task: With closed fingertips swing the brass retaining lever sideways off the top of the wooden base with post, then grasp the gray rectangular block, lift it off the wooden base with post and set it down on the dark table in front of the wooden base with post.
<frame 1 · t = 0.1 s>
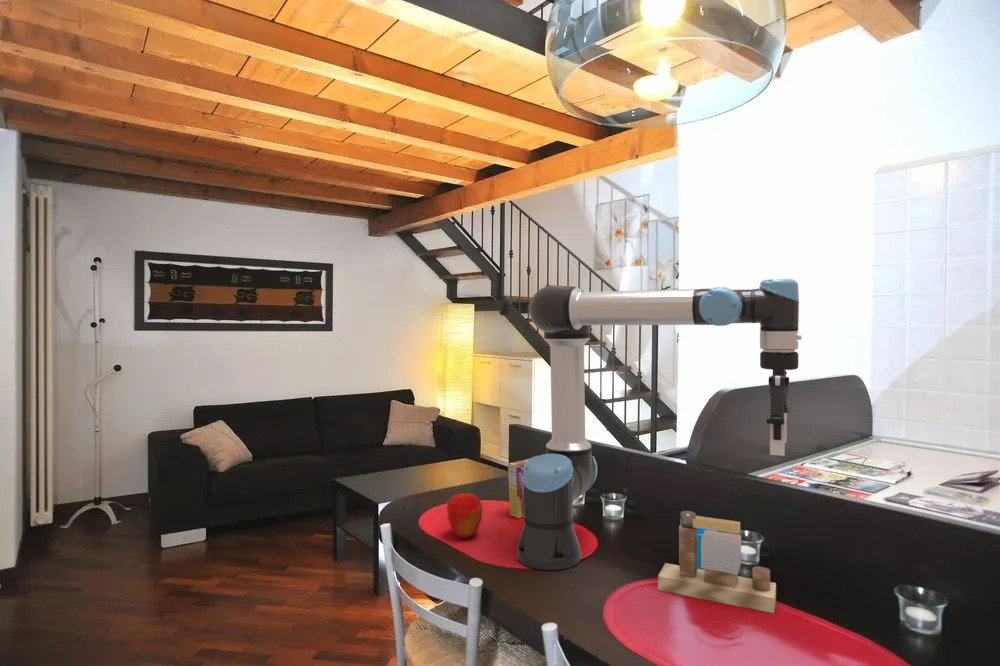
hand: (778, 448, 129), 28 cm above the table, fingers open, 13 cm apart
candy box: (525, 514, 172), on the table
lever: (709, 522, 122), point 15 cm above the table, hinge at 0.0°
gray rectangular block: (721, 565, 121), point 6 cm above the table, touching wooden base with post
apple: (465, 536, 155), on the table
mug: (702, 562, 138), on the table
wooden base with post: (716, 593, 122), on the table
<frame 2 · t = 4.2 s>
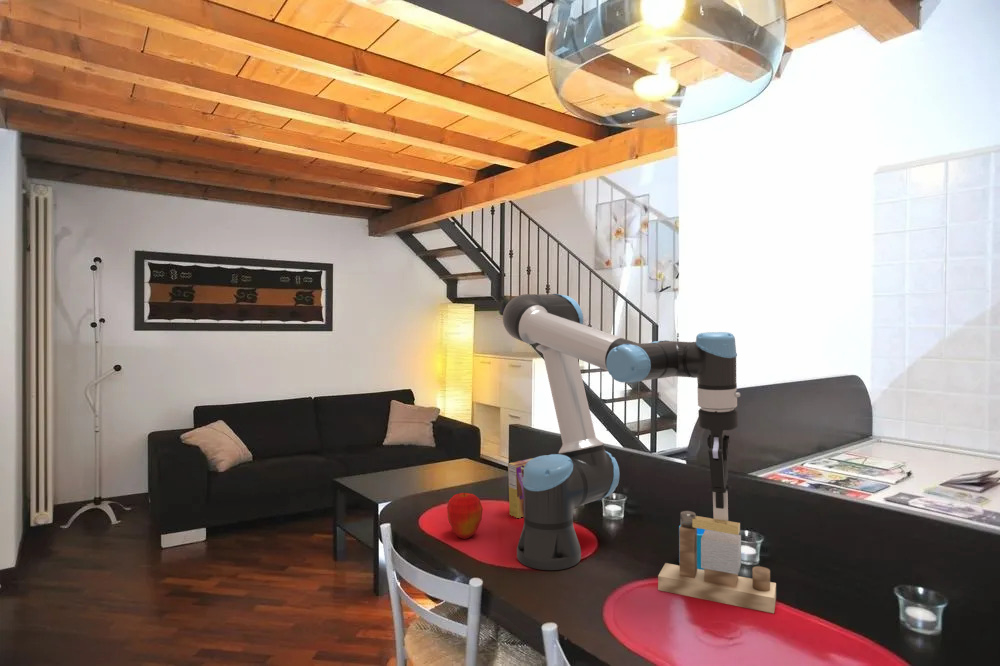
hand: (720, 521, 122), 15 cm above the table, fingers closed
lever: (709, 522, 122), point 15 cm above the table, hinge at -3.8°, touching gripper
everything else where it was.
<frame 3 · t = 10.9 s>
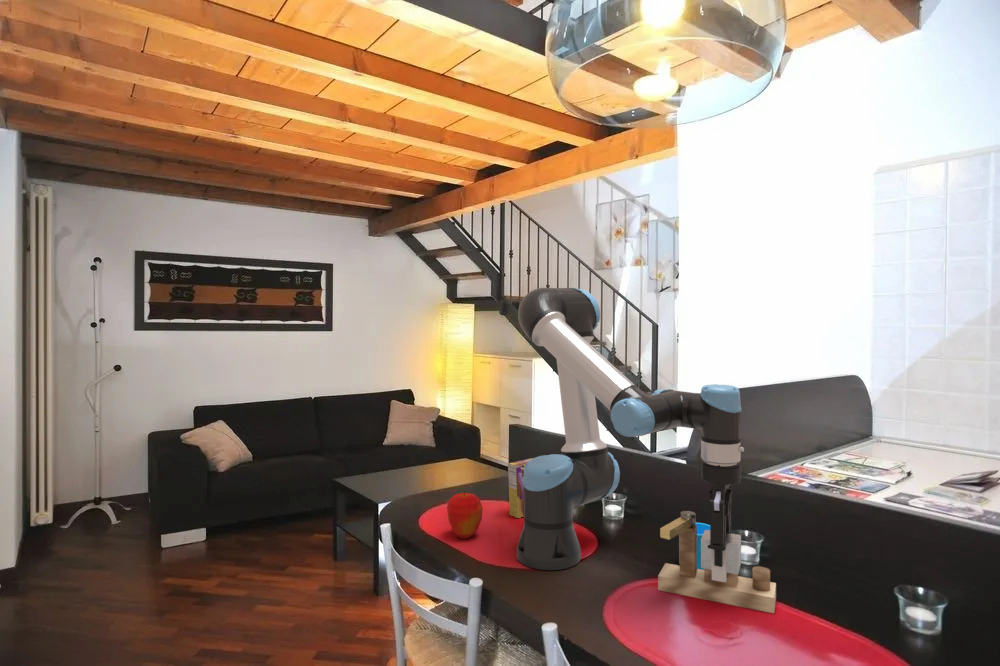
hand: (721, 573, 121), 4 cm above the table, fingers closed on gray rectangular block, 5 cm apart
lever: (678, 524, 121), point 15 cm above the table, hinge at -105.8°
gray rectangular block: (721, 565, 121), point 6 cm above the table, touching gripper, wooden base with post
everything else where it was.
when the fingers open (0 cm above the table, at t = 17.5 s): gray rectangular block drops 2 cm, on the table.
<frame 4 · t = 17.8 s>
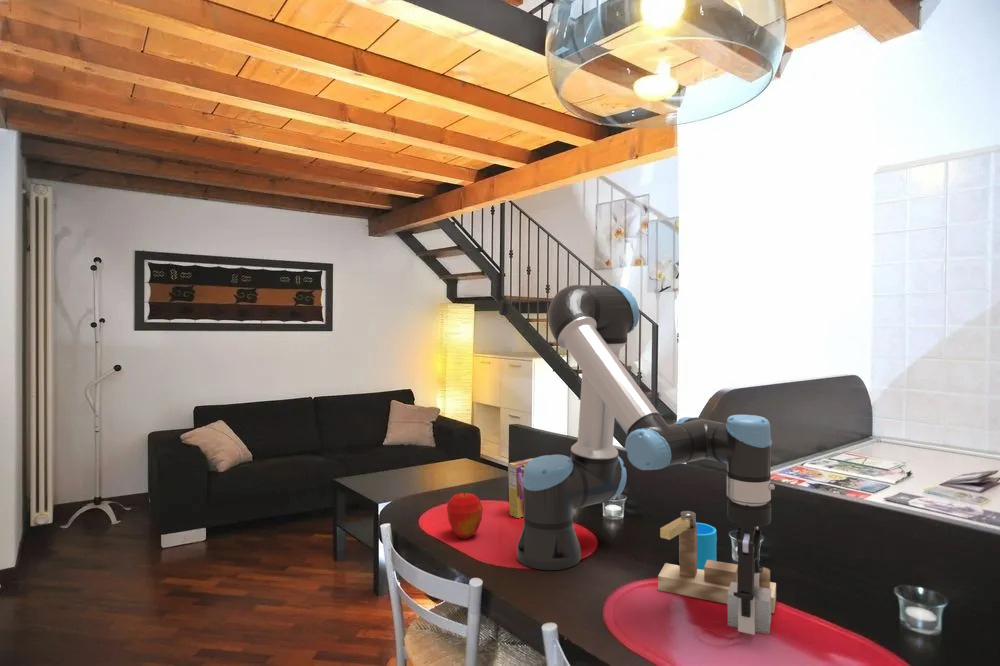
hand: (749, 618, 111), 1 cm above the table, fingers open, 10 cm apart
gray rectangular block: (749, 623, 111), on the table
everything else where it was.
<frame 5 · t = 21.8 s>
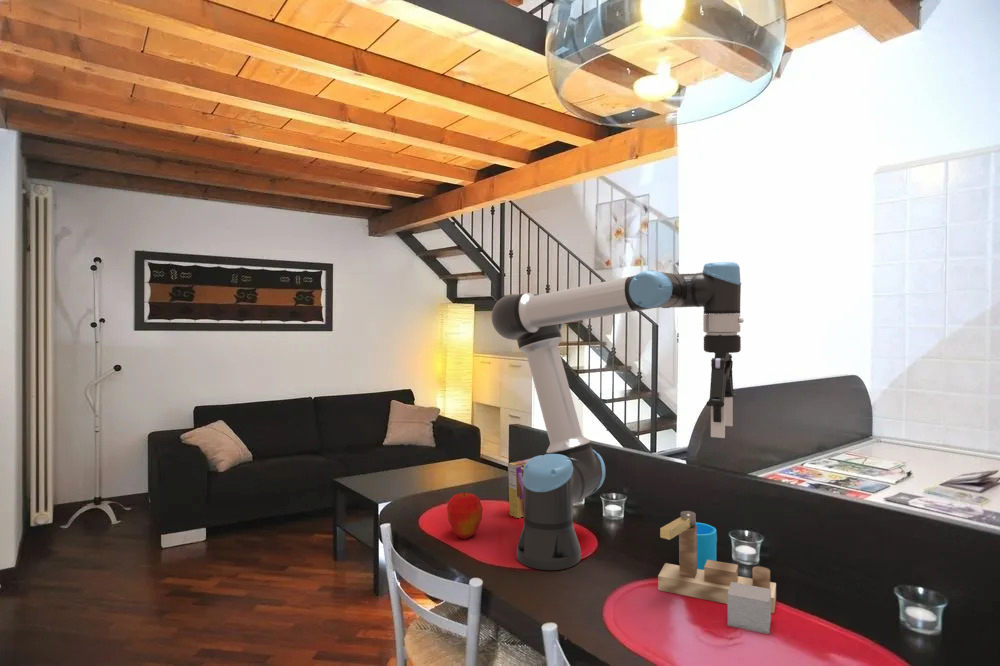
hand: (722, 431, 130), 32 cm above the table, fingers open, 13 cm apart
nothing on the table moved.
at the end: lever at -106° (first picture: +0°); gray rectangular block inside the target area (0.1 cm from its centre), on the table; gray rectangular block tilted 0° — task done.
